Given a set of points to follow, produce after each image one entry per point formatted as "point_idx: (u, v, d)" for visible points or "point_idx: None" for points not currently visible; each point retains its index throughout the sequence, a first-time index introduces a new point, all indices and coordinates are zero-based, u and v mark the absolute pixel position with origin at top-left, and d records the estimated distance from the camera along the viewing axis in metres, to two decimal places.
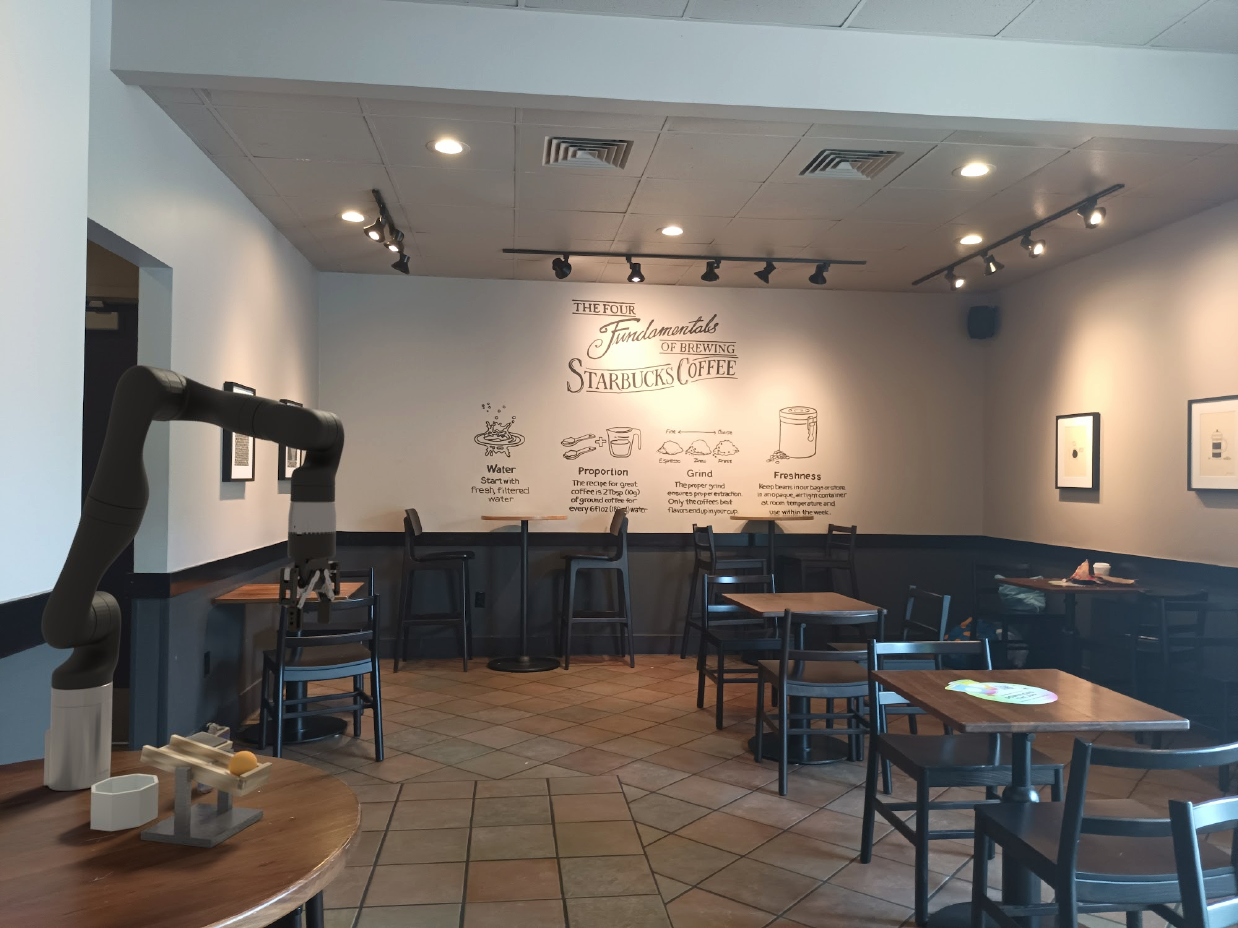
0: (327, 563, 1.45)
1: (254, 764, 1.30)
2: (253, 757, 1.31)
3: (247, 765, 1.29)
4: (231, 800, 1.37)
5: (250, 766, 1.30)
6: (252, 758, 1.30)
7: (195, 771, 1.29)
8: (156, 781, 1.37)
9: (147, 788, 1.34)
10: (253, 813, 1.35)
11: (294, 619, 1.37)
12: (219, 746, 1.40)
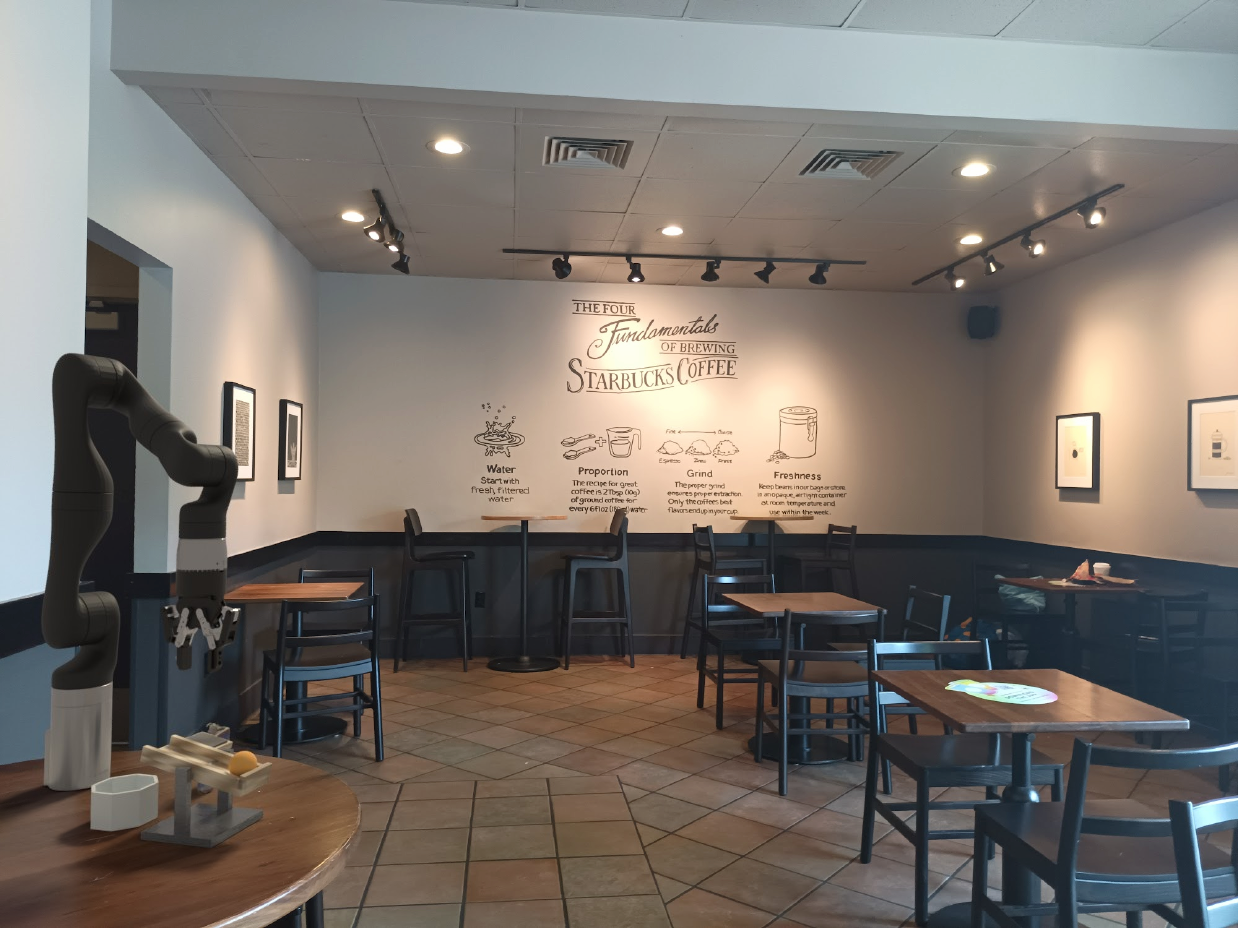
0: None
1: (254, 764, 1.30)
2: (253, 757, 1.31)
3: (247, 765, 1.29)
4: (231, 800, 1.37)
5: (250, 766, 1.30)
6: (252, 758, 1.30)
7: (195, 771, 1.29)
8: (156, 781, 1.37)
9: (147, 788, 1.34)
10: (253, 813, 1.35)
11: (221, 658, 1.40)
12: (219, 746, 1.40)
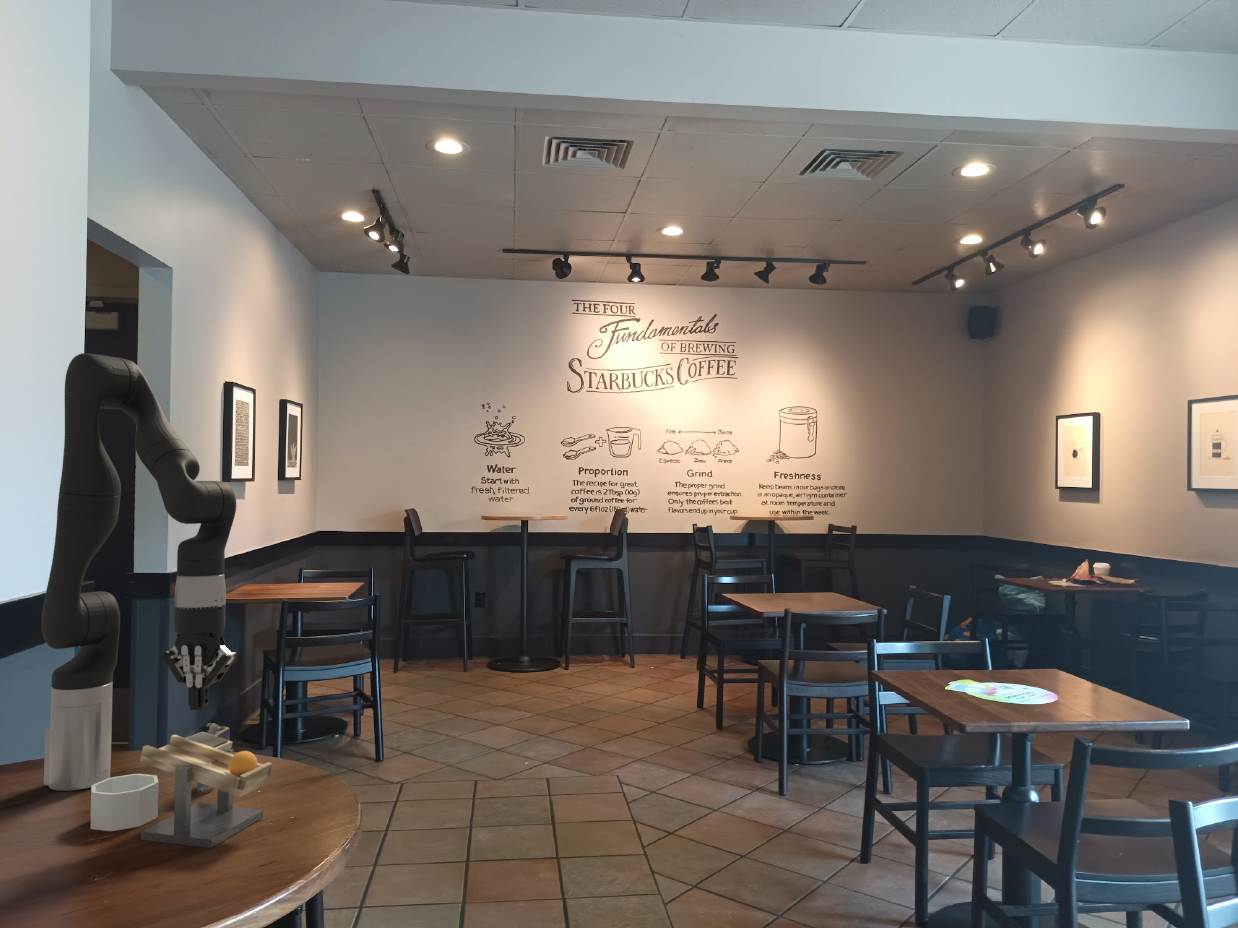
0: None
1: (254, 764, 1.30)
2: (253, 757, 1.31)
3: (247, 765, 1.29)
4: (231, 800, 1.37)
5: (250, 766, 1.30)
6: (252, 758, 1.30)
7: (195, 771, 1.29)
8: (156, 781, 1.37)
9: (147, 788, 1.34)
10: (253, 813, 1.35)
11: (208, 696, 1.40)
12: (219, 746, 1.40)
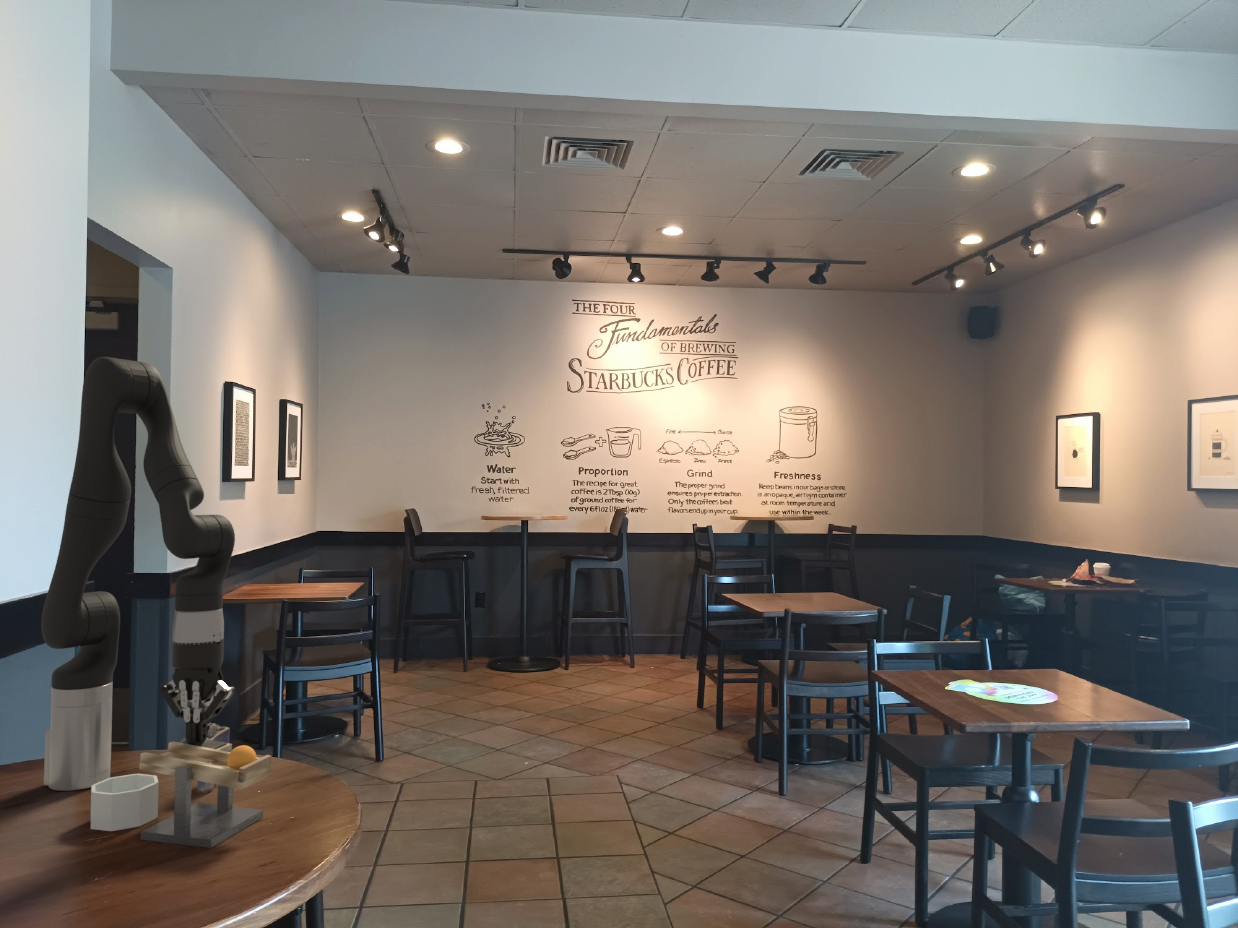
0: None
1: (253, 757, 1.30)
2: (251, 750, 1.31)
3: (245, 758, 1.29)
4: (231, 800, 1.37)
5: (249, 758, 1.30)
6: (250, 751, 1.30)
7: (194, 770, 1.29)
8: (156, 781, 1.37)
9: (147, 788, 1.34)
10: (253, 813, 1.35)
11: (206, 730, 1.40)
12: (218, 748, 1.40)
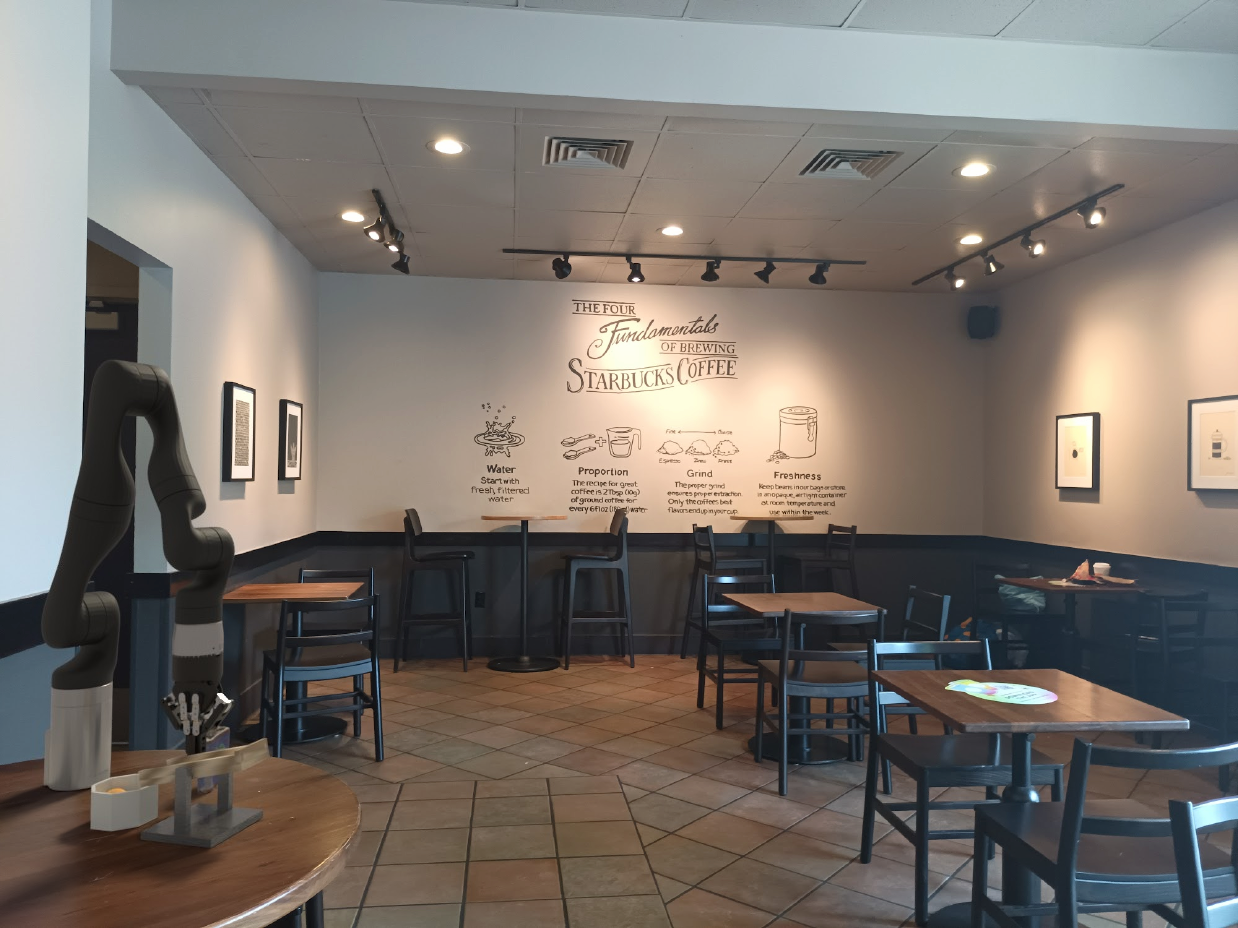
0: None
1: None
2: None
3: None
4: (231, 800, 1.37)
5: None
6: None
7: (193, 769, 1.29)
8: None
9: (147, 788, 1.34)
10: (253, 813, 1.35)
11: (205, 743, 1.40)
12: None
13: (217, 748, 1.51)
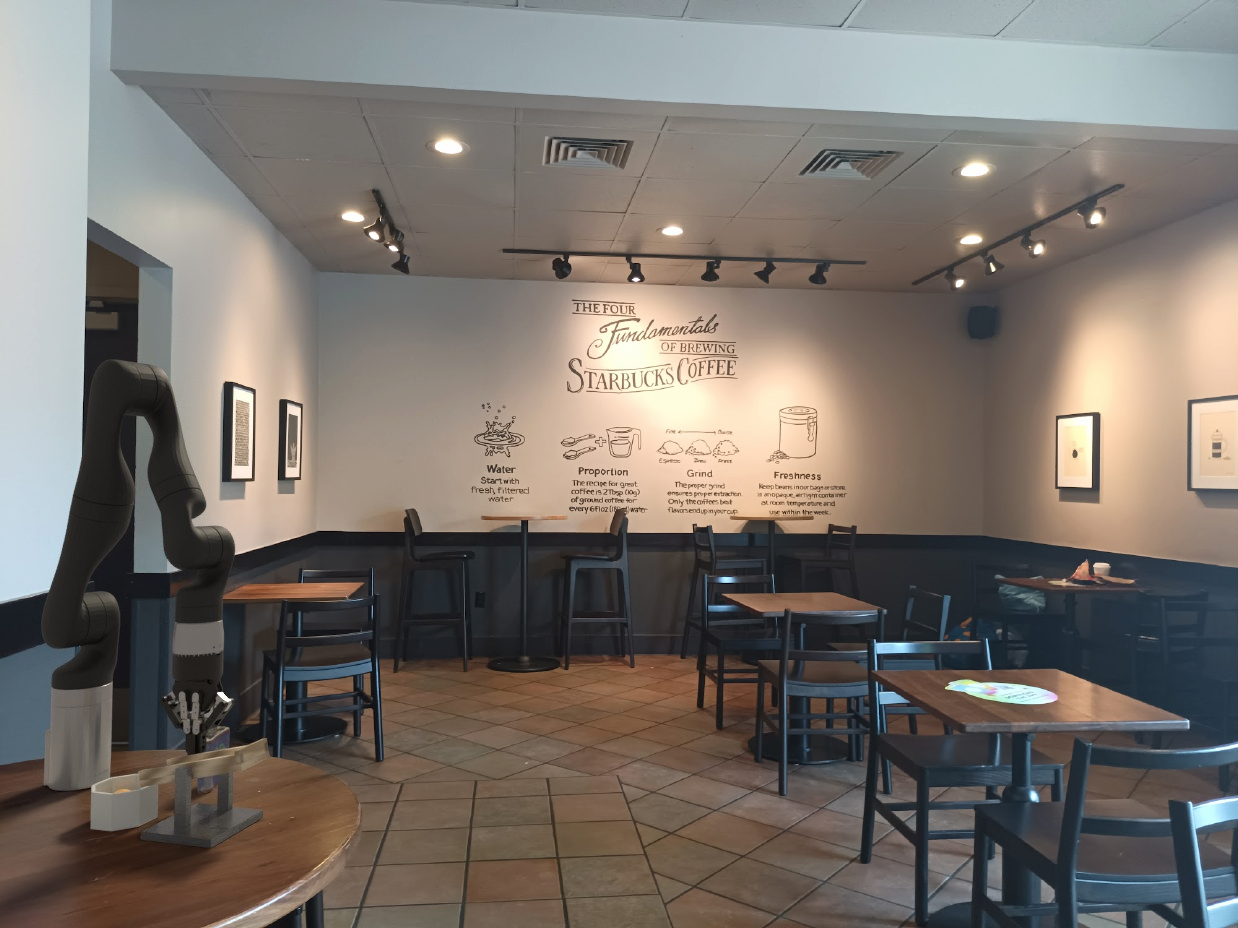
0: None
1: None
2: None
3: None
4: (231, 800, 1.37)
5: None
6: None
7: (193, 769, 1.29)
8: None
9: (147, 788, 1.34)
10: (253, 813, 1.35)
11: (205, 742, 1.40)
12: None
13: (217, 748, 1.51)
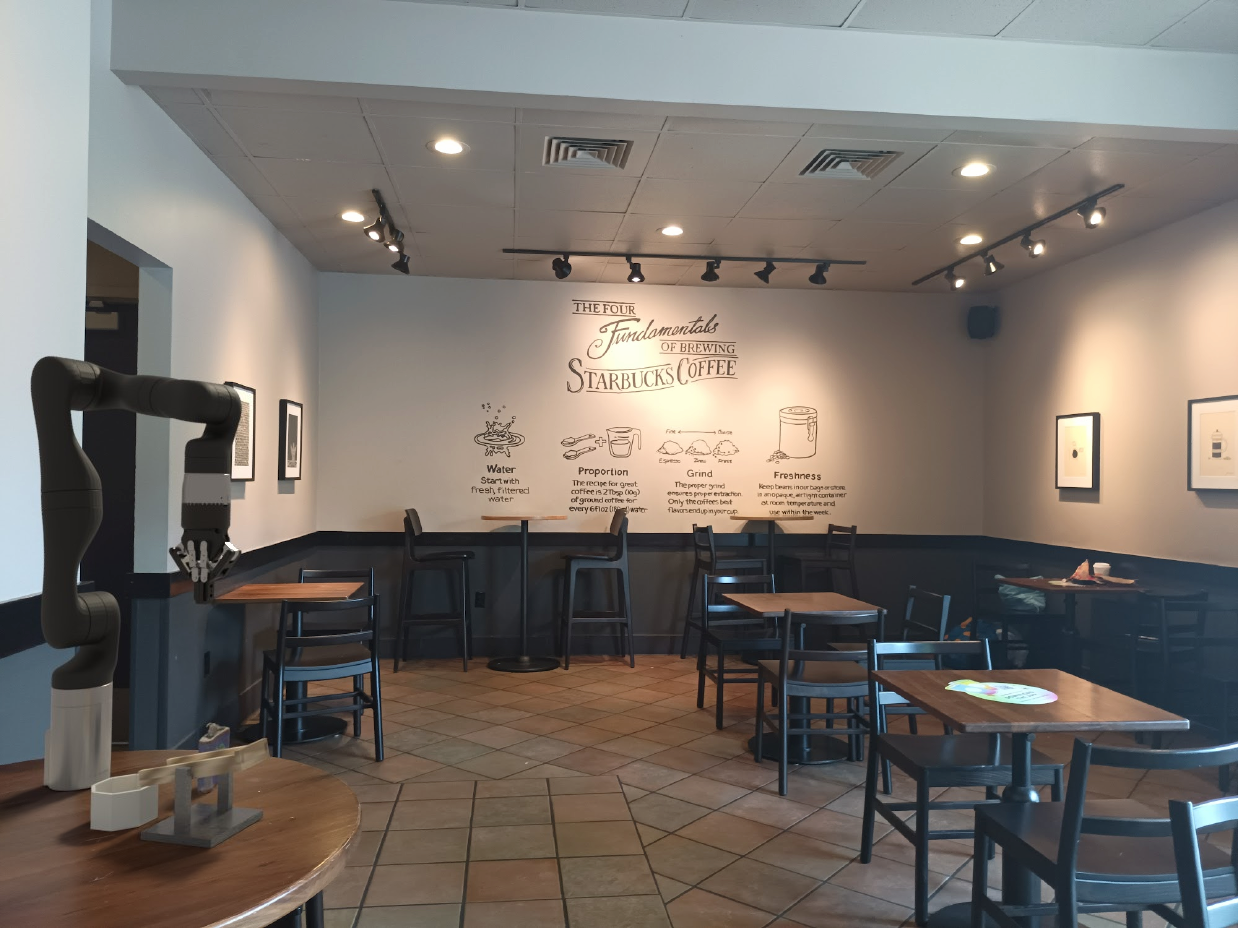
0: None
1: None
2: None
3: None
4: (231, 800, 1.37)
5: None
6: None
7: (193, 769, 1.29)
8: None
9: (147, 788, 1.34)
10: (253, 813, 1.35)
11: (213, 591, 1.45)
12: None
13: (217, 748, 1.51)
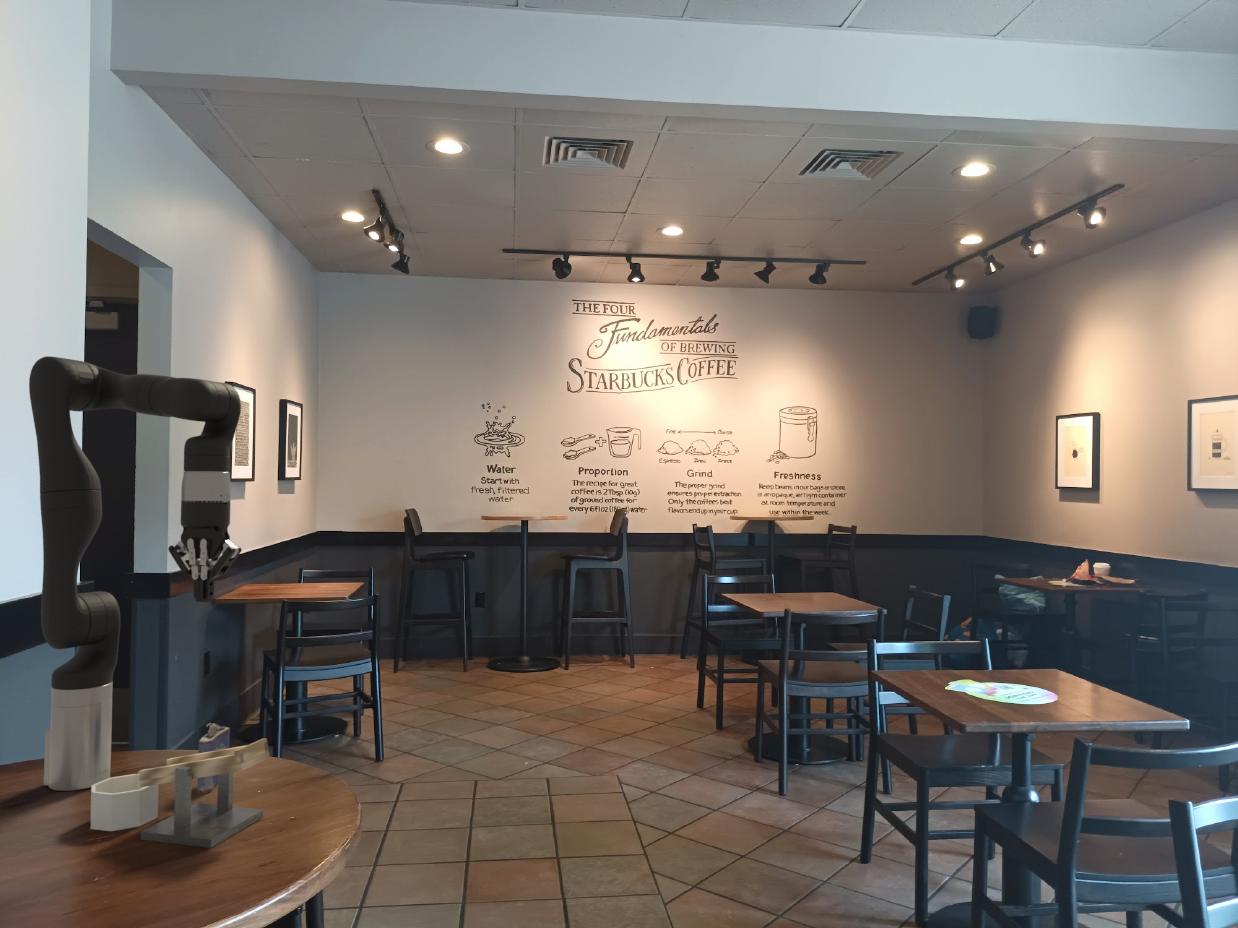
0: None
1: None
2: None
3: None
4: (231, 800, 1.37)
5: None
6: None
7: (193, 769, 1.29)
8: None
9: (147, 788, 1.34)
10: (253, 813, 1.35)
11: (213, 589, 1.45)
12: None
13: (217, 748, 1.51)
